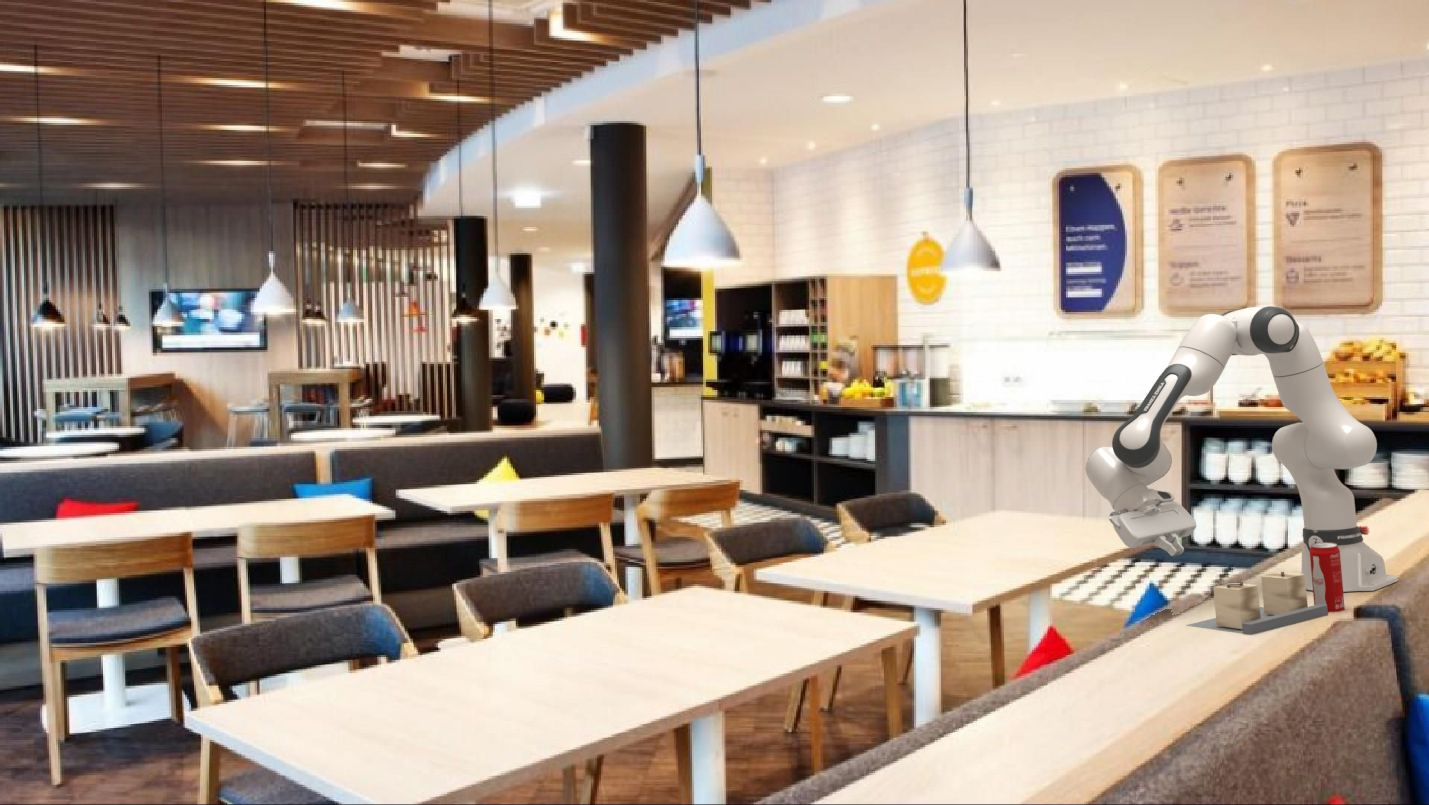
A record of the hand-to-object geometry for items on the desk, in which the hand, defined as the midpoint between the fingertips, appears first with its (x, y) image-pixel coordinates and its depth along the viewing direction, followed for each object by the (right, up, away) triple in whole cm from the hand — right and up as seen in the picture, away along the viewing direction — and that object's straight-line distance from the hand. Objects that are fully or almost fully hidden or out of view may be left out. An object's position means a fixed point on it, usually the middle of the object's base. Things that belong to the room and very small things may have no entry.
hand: (1178, 553), depth 264 cm
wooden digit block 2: (+7, -13, -14) cm, 21 cm away
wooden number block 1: (+20, -12, -7) cm, 24 cm away
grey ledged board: (+13, -14, -10) cm, 21 cm away
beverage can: (+30, -12, -6) cm, 33 cm away
